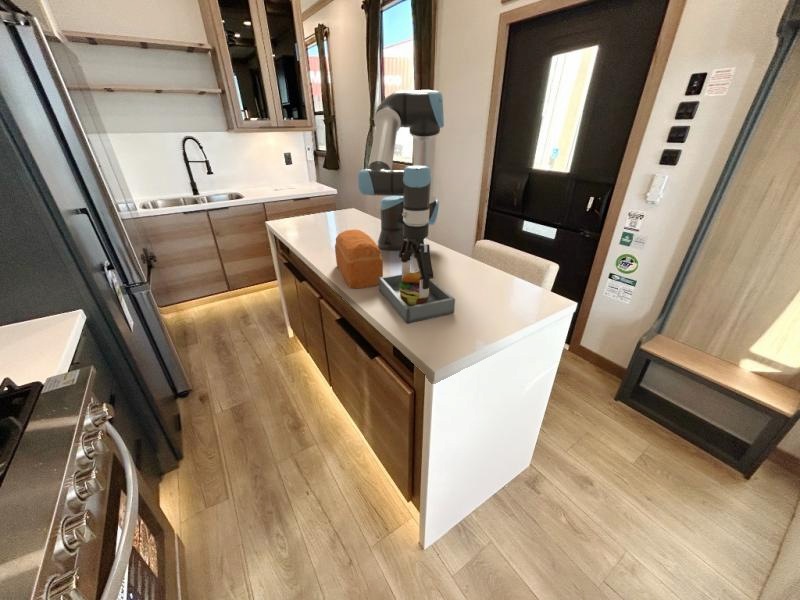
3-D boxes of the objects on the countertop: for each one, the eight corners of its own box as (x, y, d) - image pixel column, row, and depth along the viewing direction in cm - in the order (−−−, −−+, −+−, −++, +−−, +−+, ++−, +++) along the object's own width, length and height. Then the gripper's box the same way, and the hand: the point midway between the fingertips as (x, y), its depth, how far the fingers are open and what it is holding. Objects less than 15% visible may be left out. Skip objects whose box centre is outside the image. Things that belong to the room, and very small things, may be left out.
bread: (348, 290, 113) (345, 247, 106) (335, 264, 135) (331, 227, 127) (385, 284, 117) (384, 243, 110) (366, 260, 139) (365, 224, 132)
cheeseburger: (395, 305, 101) (396, 273, 99) (401, 297, 111) (402, 269, 109) (426, 307, 99) (428, 276, 97) (430, 299, 109) (432, 270, 107)
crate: (379, 290, 113) (378, 277, 111) (419, 282, 118) (420, 270, 116) (406, 323, 93) (406, 309, 91) (453, 313, 99) (455, 298, 97)
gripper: (388, 215, 103) (389, 275, 113) (423, 236, 82) (420, 307, 92) (410, 212, 105) (409, 272, 115) (448, 232, 85) (443, 302, 95)
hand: (414, 288), depth 104 cm, fingers open, 13 cm apart
